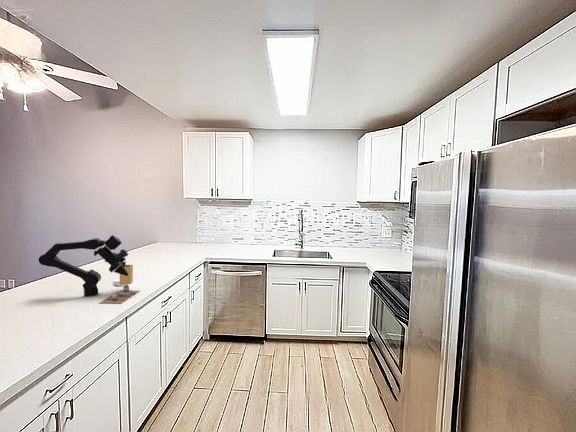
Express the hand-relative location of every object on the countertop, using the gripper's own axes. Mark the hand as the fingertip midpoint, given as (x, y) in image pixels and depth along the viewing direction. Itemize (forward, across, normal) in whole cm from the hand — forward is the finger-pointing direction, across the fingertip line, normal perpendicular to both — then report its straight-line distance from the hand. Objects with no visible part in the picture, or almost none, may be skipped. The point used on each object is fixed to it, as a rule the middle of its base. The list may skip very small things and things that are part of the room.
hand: (128, 274), depth 203 cm
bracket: (+4, +29, +15) cm, 33 cm away
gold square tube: (+3, 0, +4) cm, 5 cm away
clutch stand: (+7, -7, +11) cm, 15 cm away
